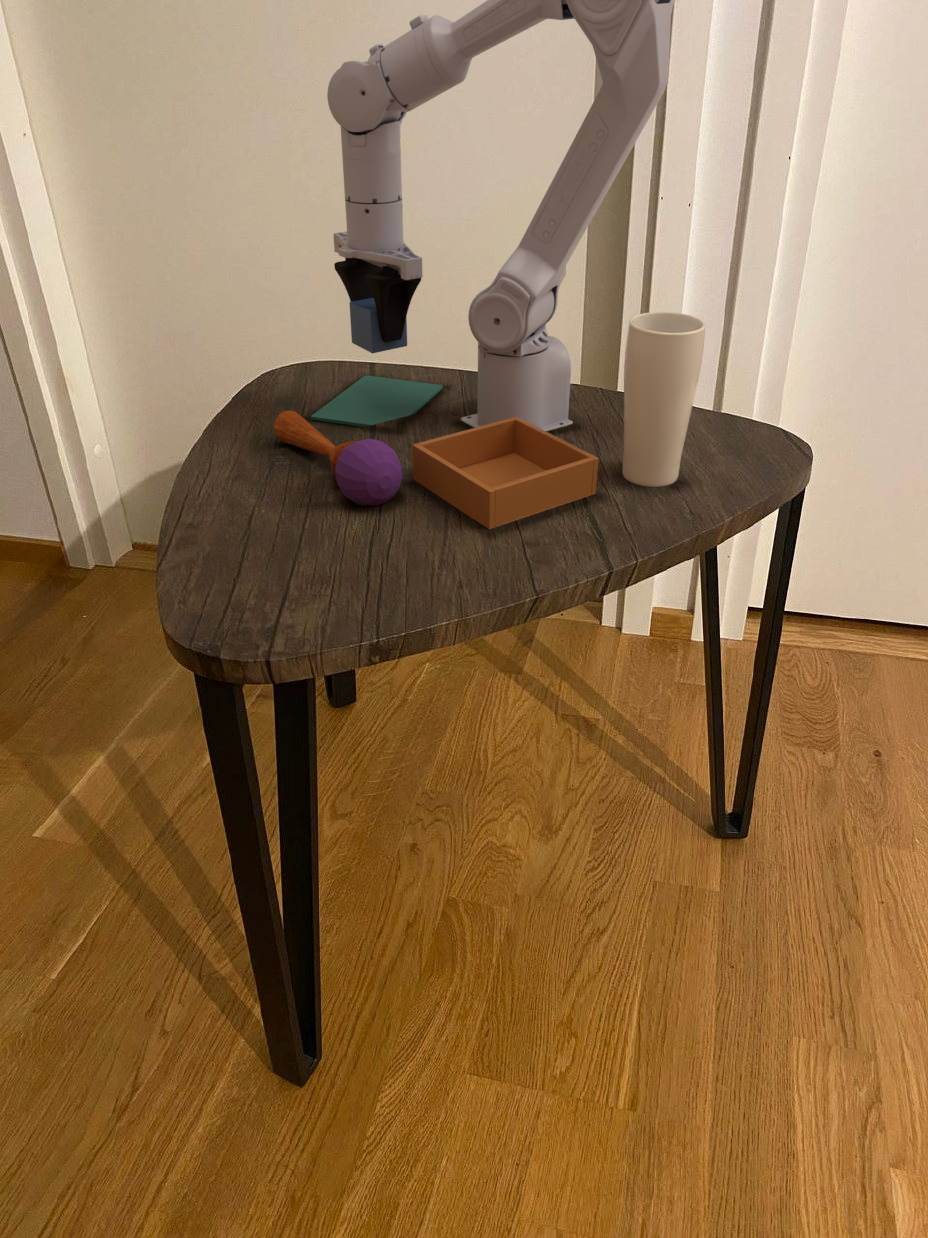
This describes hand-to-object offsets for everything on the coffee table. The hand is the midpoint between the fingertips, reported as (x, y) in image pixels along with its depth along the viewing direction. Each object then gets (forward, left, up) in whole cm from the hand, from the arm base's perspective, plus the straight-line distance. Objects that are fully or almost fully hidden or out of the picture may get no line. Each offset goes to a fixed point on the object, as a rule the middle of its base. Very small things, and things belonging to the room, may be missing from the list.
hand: (379, 334), depth 105 cm
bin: (+2, +25, -8) cm, 26 cm away
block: (0, 0, -1) cm, 1 cm away
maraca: (+13, +13, -8) cm, 20 cm away
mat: (0, -1, -8) cm, 8 cm away
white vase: (-11, +31, -8) cm, 34 cm away
